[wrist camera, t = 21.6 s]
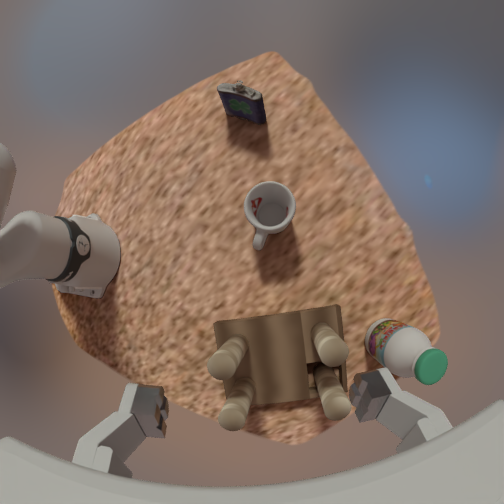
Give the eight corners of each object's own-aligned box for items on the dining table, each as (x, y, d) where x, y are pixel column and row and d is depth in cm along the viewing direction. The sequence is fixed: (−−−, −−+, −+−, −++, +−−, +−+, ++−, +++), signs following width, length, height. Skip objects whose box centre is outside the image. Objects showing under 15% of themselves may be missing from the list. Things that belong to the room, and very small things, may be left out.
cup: (280, 259, 48) (279, 256, 40) (238, 244, 49) (229, 238, 41) (299, 203, 49) (302, 189, 41) (258, 190, 50) (254, 174, 42)
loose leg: (321, 383, 45) (335, 425, 29) (308, 371, 45) (318, 410, 30) (336, 371, 45) (356, 408, 29) (323, 358, 45) (340, 392, 30)
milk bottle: (407, 331, 44) (466, 356, 24) (383, 364, 44) (431, 406, 24) (381, 309, 45) (435, 326, 25) (355, 343, 45) (396, 380, 25)
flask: (223, 114, 52) (212, 84, 42) (230, 104, 53) (219, 73, 42) (263, 127, 51) (258, 95, 41) (269, 116, 51) (265, 84, 41)
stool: (231, 399, 47) (209, 442, 31) (217, 321, 48) (187, 339, 33) (344, 385, 44) (366, 426, 29) (336, 304, 46) (361, 315, 30)
